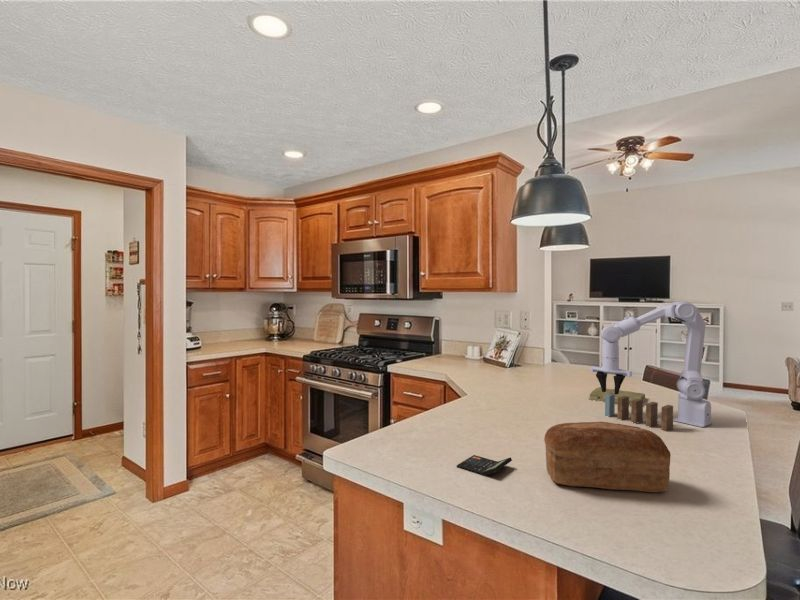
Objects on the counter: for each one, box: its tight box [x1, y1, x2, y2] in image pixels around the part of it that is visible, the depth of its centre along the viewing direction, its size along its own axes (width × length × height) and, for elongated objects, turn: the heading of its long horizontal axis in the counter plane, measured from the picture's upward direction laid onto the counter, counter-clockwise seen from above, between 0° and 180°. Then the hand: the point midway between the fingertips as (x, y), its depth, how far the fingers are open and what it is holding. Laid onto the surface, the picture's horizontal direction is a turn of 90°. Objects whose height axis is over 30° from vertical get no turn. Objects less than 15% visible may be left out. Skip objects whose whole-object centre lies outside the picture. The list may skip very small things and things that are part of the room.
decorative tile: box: [588, 386, 646, 407], centre depth 183 cm, size 19×20×4 cm
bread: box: [543, 421, 672, 493], centre depth 103 cm, size 12×28×14 cm, turn 80°
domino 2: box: [617, 396, 630, 421], centre depth 155 cm, size 2×5×8 cm, turn 125°
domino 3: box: [630, 399, 644, 424], centre depth 151 cm, size 2×5×8 cm, turn 125°
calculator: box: [456, 454, 513, 476], centre depth 111 cm, size 9×12×3 cm
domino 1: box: [604, 393, 616, 418], centre depth 159 cm, size 2×5×8 cm, turn 132°
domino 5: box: [660, 404, 674, 432], centre depth 143 cm, size 2×5×8 cm, turn 125°
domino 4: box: [645, 401, 659, 428], centre depth 147 cm, size 2×5×8 cm, turn 125°
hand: (610, 392), depth 159 cm, fingers open, 4 cm apart
